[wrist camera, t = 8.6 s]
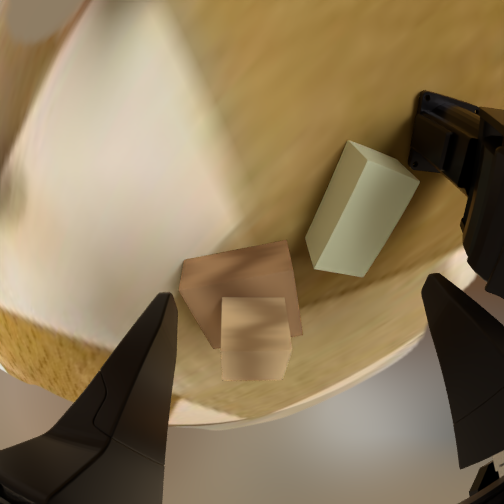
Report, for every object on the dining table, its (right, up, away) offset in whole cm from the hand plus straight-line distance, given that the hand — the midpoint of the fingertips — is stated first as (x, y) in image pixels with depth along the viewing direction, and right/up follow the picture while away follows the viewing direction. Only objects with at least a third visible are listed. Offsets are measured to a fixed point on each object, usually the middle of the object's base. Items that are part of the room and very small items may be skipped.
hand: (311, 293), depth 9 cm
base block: (-3, -2, +19) cm, 19 cm away
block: (+6, +6, +13) cm, 15 cm away
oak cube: (-2, -4, +16) cm, 16 cm away
